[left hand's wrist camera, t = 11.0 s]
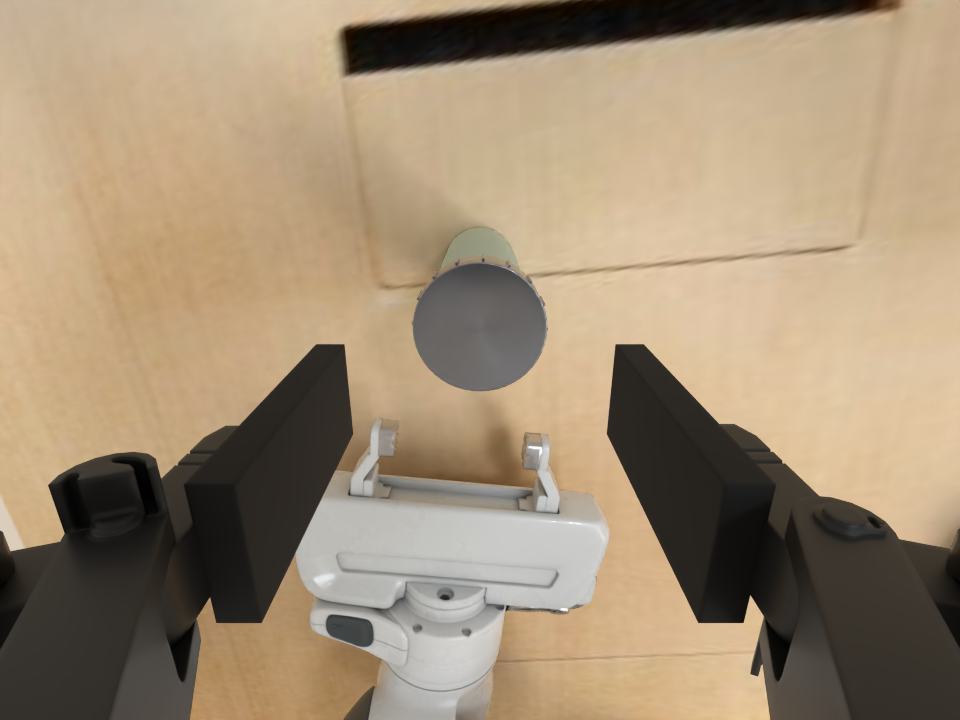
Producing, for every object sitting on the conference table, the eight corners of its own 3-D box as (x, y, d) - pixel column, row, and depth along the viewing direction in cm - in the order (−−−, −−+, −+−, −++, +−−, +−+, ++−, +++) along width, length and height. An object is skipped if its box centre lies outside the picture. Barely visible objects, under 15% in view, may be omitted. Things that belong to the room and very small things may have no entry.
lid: (523, 387, 22) (527, 404, 21) (405, 360, 22) (399, 376, 20) (558, 271, 20) (565, 280, 19) (431, 240, 20) (427, 245, 18)
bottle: (504, 302, 35) (520, 391, 21) (439, 286, 35) (410, 366, 20) (522, 236, 33) (552, 284, 19) (454, 219, 33) (435, 254, 19)
